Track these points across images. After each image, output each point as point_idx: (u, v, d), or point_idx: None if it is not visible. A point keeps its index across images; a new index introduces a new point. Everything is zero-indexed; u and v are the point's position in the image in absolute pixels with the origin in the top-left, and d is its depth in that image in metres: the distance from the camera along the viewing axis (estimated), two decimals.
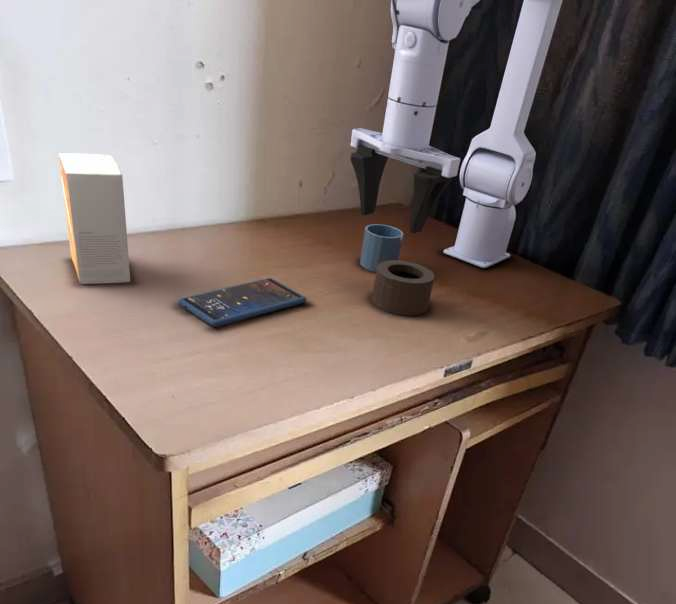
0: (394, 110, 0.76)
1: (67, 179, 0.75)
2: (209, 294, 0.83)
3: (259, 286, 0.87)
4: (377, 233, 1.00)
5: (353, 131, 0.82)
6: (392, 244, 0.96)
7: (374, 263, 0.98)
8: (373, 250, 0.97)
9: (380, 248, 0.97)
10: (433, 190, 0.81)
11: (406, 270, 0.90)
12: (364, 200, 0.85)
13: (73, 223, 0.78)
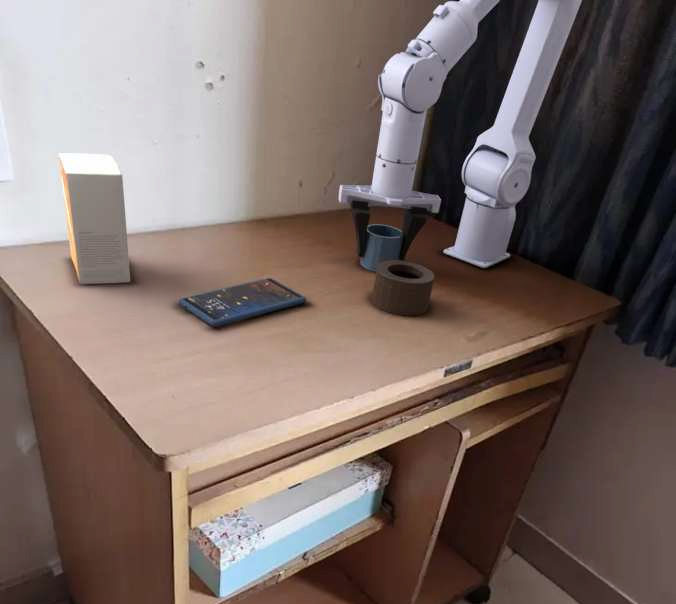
0: (396, 170, 0.90)
1: (67, 179, 0.75)
2: (209, 294, 0.83)
3: (259, 286, 0.87)
4: (377, 233, 1.00)
5: (343, 190, 0.92)
6: (392, 244, 0.96)
7: (374, 263, 0.98)
8: (373, 250, 0.97)
9: (380, 248, 0.97)
10: None
11: (406, 270, 0.90)
12: (364, 245, 0.97)
13: (73, 223, 0.78)
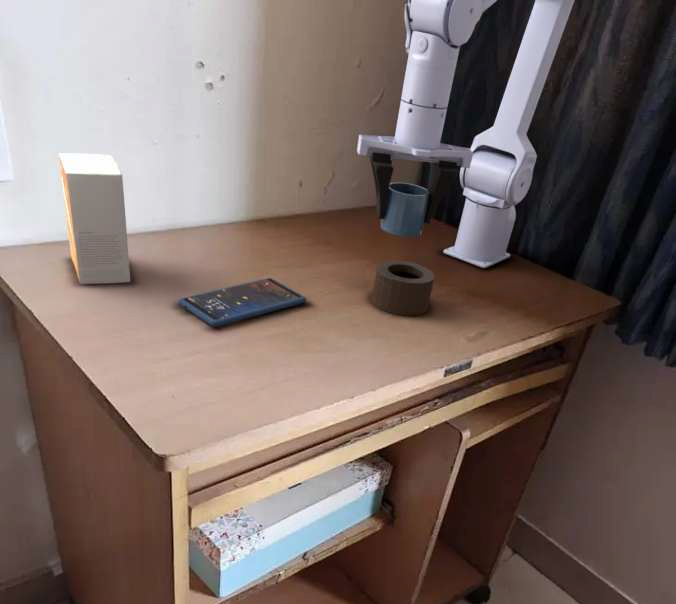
0: (424, 115, 0.79)
1: (67, 179, 0.75)
2: (209, 294, 0.83)
3: (259, 286, 0.87)
4: (400, 193, 0.89)
5: (362, 140, 0.81)
6: (417, 203, 0.85)
7: (397, 225, 0.87)
8: (396, 210, 0.86)
9: (404, 208, 0.86)
10: None
11: (406, 270, 0.90)
12: (385, 205, 0.86)
13: (73, 223, 0.78)
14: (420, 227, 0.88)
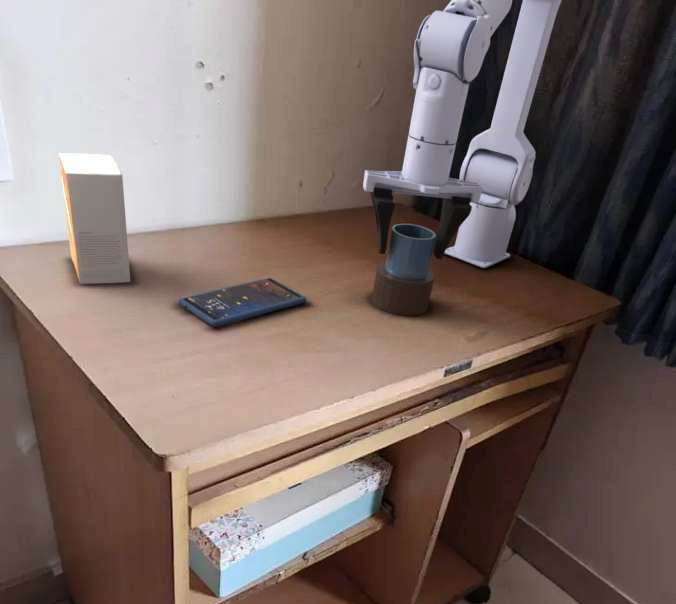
0: (432, 152, 0.76)
1: (67, 179, 0.75)
2: (209, 294, 0.83)
3: (259, 286, 0.87)
4: (405, 234, 0.87)
5: (369, 176, 0.79)
6: (423, 247, 0.84)
7: (402, 268, 0.85)
8: (401, 254, 0.84)
9: (409, 251, 0.84)
10: None
11: None
12: (386, 240, 0.84)
13: (73, 223, 0.78)
14: (426, 269, 0.86)
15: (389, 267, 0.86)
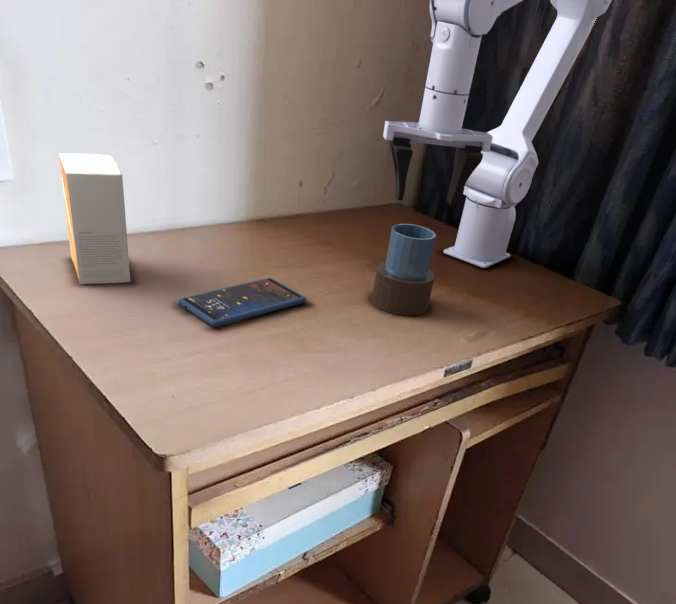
0: (447, 102, 0.84)
1: (67, 179, 0.75)
2: (209, 294, 0.83)
3: (259, 286, 0.87)
4: (405, 234, 0.87)
5: (389, 125, 0.86)
6: (423, 247, 0.84)
7: (402, 268, 0.85)
8: (401, 254, 0.84)
9: (409, 251, 0.84)
10: None
11: None
12: (404, 187, 0.91)
13: (73, 223, 0.78)
14: (426, 269, 0.86)
15: (389, 267, 0.86)
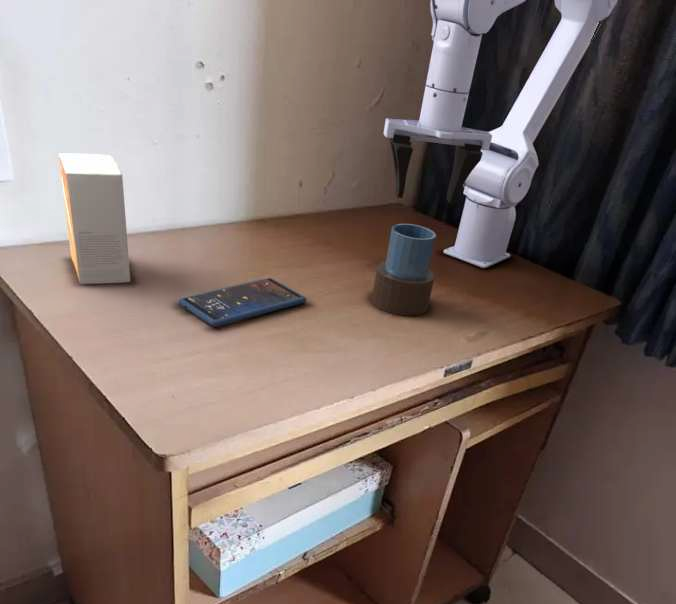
0: (447, 100, 0.84)
1: (67, 179, 0.75)
2: (209, 294, 0.83)
3: (259, 286, 0.87)
4: (405, 234, 0.87)
5: (389, 123, 0.87)
6: (423, 247, 0.84)
7: (402, 268, 0.85)
8: (401, 254, 0.84)
9: (409, 251, 0.84)
10: None
11: None
12: (404, 184, 0.92)
13: (73, 223, 0.78)
14: (426, 269, 0.86)
15: (389, 267, 0.86)
